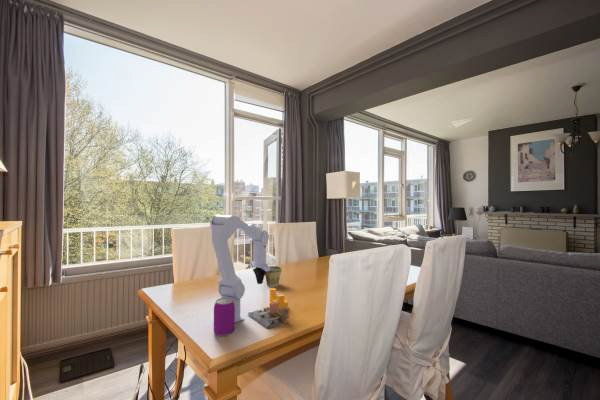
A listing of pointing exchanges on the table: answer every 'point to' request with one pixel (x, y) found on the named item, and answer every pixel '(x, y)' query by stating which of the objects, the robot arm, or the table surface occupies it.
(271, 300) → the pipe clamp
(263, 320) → the strip
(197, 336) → the table surface
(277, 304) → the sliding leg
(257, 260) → the robot arm
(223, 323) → the beverage can
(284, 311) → the trammel bar
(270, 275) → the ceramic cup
